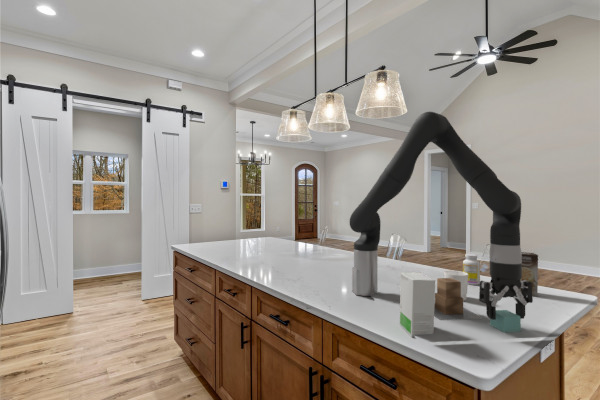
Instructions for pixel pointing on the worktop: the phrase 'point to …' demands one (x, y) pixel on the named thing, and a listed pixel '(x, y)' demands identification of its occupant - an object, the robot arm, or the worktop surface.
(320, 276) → the worktop surface
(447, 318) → the pale flat pad
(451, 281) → the block
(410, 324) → the skincare box
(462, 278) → the white cup
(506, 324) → the teal cube
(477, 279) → the supplement bottle
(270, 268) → the worktop surface
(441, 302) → the tower bottom
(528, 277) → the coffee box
